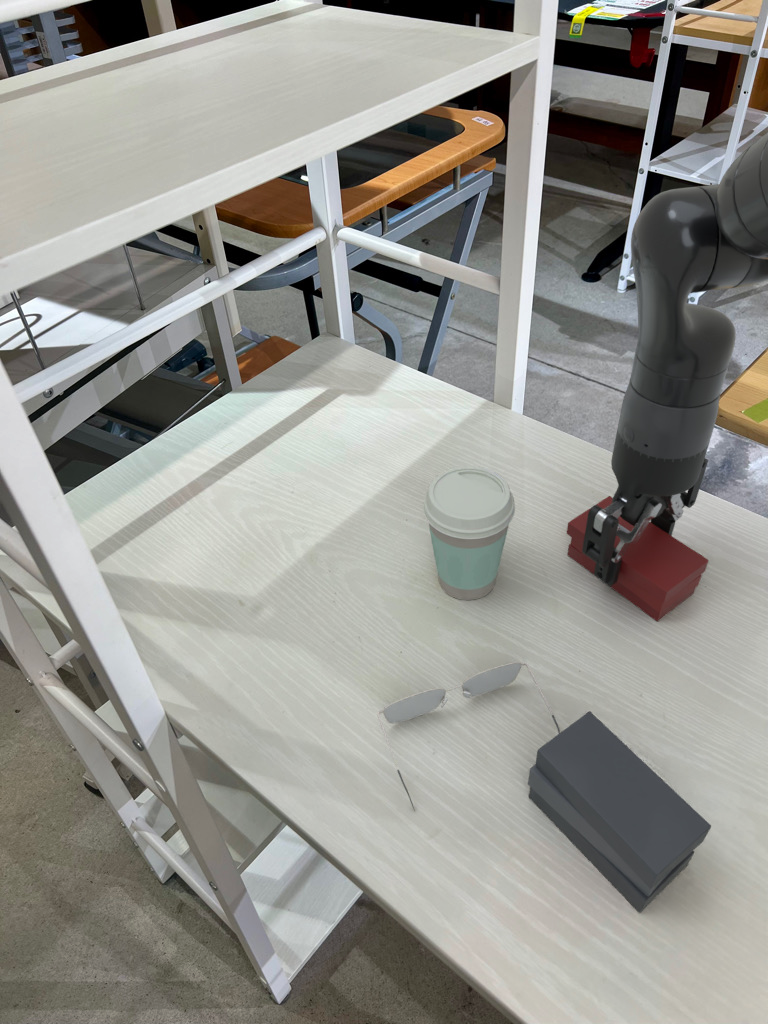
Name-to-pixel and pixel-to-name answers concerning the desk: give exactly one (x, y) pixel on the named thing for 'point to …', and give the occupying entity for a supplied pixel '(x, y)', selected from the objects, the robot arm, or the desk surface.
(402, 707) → the eyeglasses
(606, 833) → the grey books
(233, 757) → the desk surface
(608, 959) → the desk surface
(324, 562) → the desk surface
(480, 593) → the coffee cup
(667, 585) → the thin oxblood book
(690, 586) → the oxblood books
